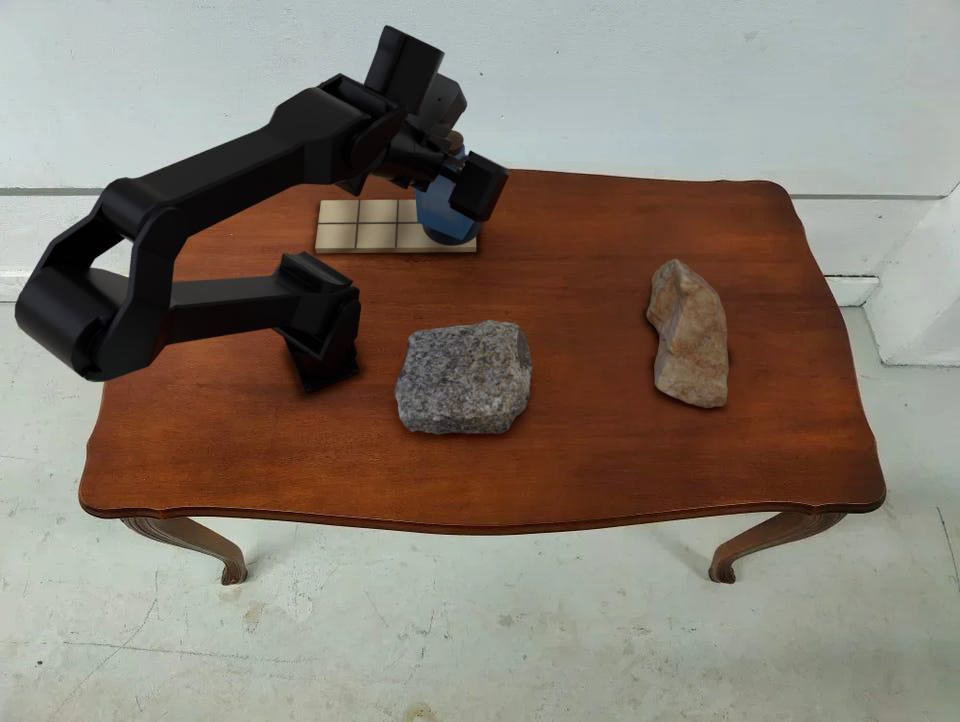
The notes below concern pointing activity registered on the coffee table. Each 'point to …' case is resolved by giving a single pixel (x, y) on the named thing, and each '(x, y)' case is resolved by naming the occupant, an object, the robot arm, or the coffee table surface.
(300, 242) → the coffee table surface
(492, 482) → the coffee table surface
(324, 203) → the board
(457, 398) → the rock
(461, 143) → the perfume bottle
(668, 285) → the stone
